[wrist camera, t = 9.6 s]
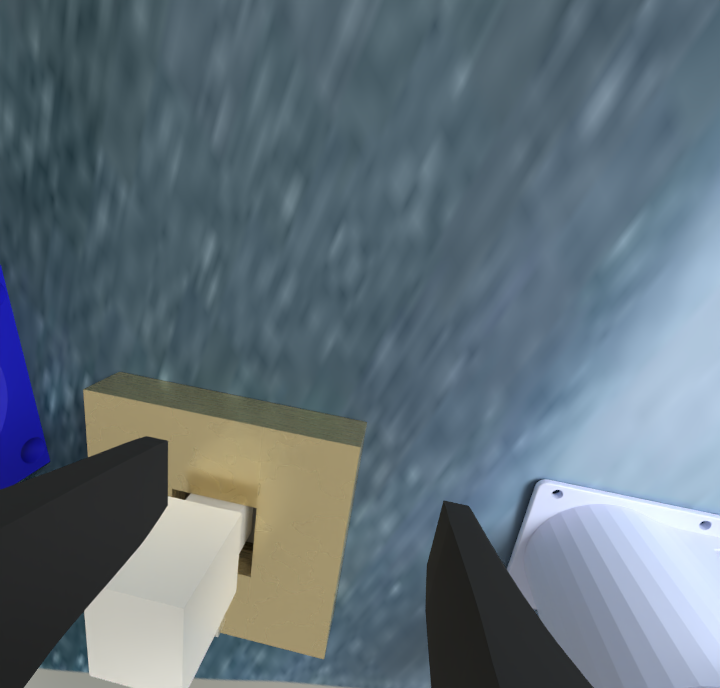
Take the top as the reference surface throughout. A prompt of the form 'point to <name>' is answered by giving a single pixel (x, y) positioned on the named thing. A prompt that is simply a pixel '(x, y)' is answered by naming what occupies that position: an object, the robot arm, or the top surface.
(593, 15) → the top surface
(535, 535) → the robot arm
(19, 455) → the cable clip
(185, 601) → the plug
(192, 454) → the socket plate
